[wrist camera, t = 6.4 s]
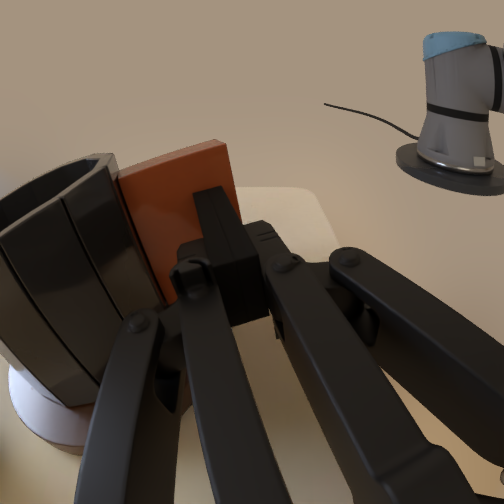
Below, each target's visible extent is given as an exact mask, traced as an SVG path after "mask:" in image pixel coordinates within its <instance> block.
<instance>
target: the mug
mask: <svg viewBox="0 0 504 504" xmlns="http://www.w3.org/2000/svg"><path fill="white" fill-rule="evenodd" d="M220 185H221V186H222V187H223V189H224V191H225V193H226V195H227V197H228V198H229V200H230V202H231V204H232V206H233V208H234V209H235V211H236V213H237V215H238V217H239V219H240V220H241V222H242V219H241V215H240V210H239V205H238V200H237V195H236V190H235V185H234V181H233V176H232V171H231V166H230V161H229V156H228V151H227V146H226V143H223V142H221V141H218V140H216V139H213V140H210V141H206V142H203V143H199V144H196V145H193V146H189V147H186V148H183V149H180V150H176V151H173V152H170V153H167V154H164V155H161V156H159V157H155V158H152V159H150V160H147V161H144V162H141V163H138V164H135V165H133V166H130V167H127V168H125V169H122V170H119V168H118V165H117V162H116V159H115V155H114V154H113V153H98V154H92V155H89V156H85V157H82V158H79V159H76V160H73V161H70V162H67V163H65V164H63V165H60V166H58V167H56V168H54V169H52V170H49V171H47V172H46V173H44V174H41V175H39V176H37V177H35V178H33V179H32V180H31V181H28V182H26V183H25V184H23V185H21V186H20V187H18V188H17V189H15V190H13V191H11V192H10V193H8V194H7V195H5V196H4V197H2V198H1V199H0V354H1V355H2V356H3V357H4V358H5V359H6V360H7V361H8V362H9V364H10V365H11V366H12V367H13V368H14V369H15V370H16V371H17V372H18V373H19V374H20V375H21V376H22V377H23V378H24V379H25V380H26V381H27V382H28V383H29V384H30V385H31V386H32V387H33V388H34V389H35V390H36V391H37V392H38V393H40V394H42V395H44V396H45V397H47V398H49V399H51V400H53V401H55V402H57V403H59V404H61V405H64V406H66V407H67V406H68V407H73V406H78V405H83V404H88V403H93V402H96V399H97V396H98V392H99V389H100V385H101V382H102V379H103V376H104V372H105V369H106V366H107V363H108V360H109V357H110V354H111V351H112V348H113V345H114V342H115V339H116V336H117V333H118V330H119V328H120V325H121V323H122V321H123V320H124V318H125V317H126V316H127V315H128V314H130V313H131V312H133V311H135V310H138V309H142V308H150V309H152V310H154V311H156V313H159V312H161V311H163V310H165V309H166V308H168V307H169V305H170V304H173V303H174V302H175V301H176V300H177V295H176V292H175V290H174V288H173V285H172V283H171V280H170V278H169V273H170V270H171V269H172V268H173V267H174V265H176V264H177V253H176V252H177V250H178V248H179V246H180V244H182V243H186V242H189V241H193V240H196V239H199V238H203V235H202V231H201V227H200V223H199V219H198V215H197V211H196V207H195V203H194V199H193V195H192V193H195V192H198V191H202V190H206V189H209V188H213V187H217V186H220Z"/></svg>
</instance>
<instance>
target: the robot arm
mask: <svg viewBox="0 0 504 504" xmlns="http://www.w3.org/2000/svg"><path fill="white" fill-rule="evenodd" d="M486 43H487V42H486V40H485V38H484V36H482V35H480V34H474V33H469V32H439V33H432V34H429V35H427V36H426V37H425V38H424V40H423V53H424V58H423V61H425V74H426V97H427V115H426V119H425V122H424V125H423V128H422V131H421V134H420V137H416V136H413V135H411V134H409V133H408V132H406V131H404V130H403V129H401V128H399V127H397V126H396V125H394V124H392V123H390V122H388V121H386V120H384V119H381V118H379V117H376V116H373V115H370V114H367V113H364V112H360V111H356V110H351V109H347V108H343V107H338V106H333V105H329V104H326V103H324V105H326V106H330V107H334V108H338V109H343V110H347V111H352V112H355V113H359V114H363V115H366V116H369V117H372V118H375V119H377V120H380V121H382V122H384V123H387V124H389V125H390V126H392V127H394V128H395V129H397V130H399V131H401V132H402V133H404V134H405V135H407V136H409V137H411V138H413V139H415V140H418V143H417V156H418V158H419V159H421V160H422V161H423V162H425V163H427V164H429V165H431V166H433V167H436V168H439V169H442V170H445V171H448V172H452V173H457V174H462V175H468V176H487V175H490V174H492V173H493V171H494V153H493V148H492V142H491V137H490V133H489V128H488V118H489V110H492V111H496V112H500V113H504V46H503V48H499V47H495V46H490V45H487V44H486ZM192 195H193V199H194V203H195V207H196V211H197V215H198V219H199V223H200V227H201V231H202V235H203V238H199V239H196V240H193V241H189V242H186V243H182V244H180V246H179V248H178V250H177V252H176V253H177V264H176V265H174V267H173V268H172V269H171V270H170V273H169V278H170V280H171V283H172V285H173V288H174V290H175V292H176V295H177V300H176V301H175V302H174V303H173V304H172V305H171V306H170V307H168V308H166V309H165V310H163V311H161V312H159V313H156V311H154V310H152V309H150V308H142V309H138V310H135V311H133V312H131V313H130V314H128V315H127V316H126V317H125V318H124V320H123V321H122V323H121V325H120V328H119V330H118V333H117V336H116V339H115V342H114V345H113V348H112V351H111V354H110V357H109V360H108V363H107V366H106V369H105V372H104V376H103V379H102V382H101V385H100V389H99V392H98V396H97V399H96V403H95V406H94V410H93V414H92V418H91V421H90V425H89V429H88V433H87V438H86V442H85V446H84V451H83V455H82V460H81V465H80V470H79V475H78V480H77V486H76V492H75V498H74V504H174V491H175V477H176V464H177V452H178V442H179V431H180V422H181V412H182V403H183V395H184V386H185V378H186V367H187V372H188V378H189V384H190V390H191V396H192V401H193V407H194V412H195V417H196V422H197V427H198V432H199V437H200V442H201V446H202V451H203V455H204V459H205V464H206V468H207V472H208V476H209V480H210V484H211V488H212V492H213V495H214V499H215V503H216V504H293V502H292V500H291V497H290V495H289V492H288V490H287V487H286V484H285V482H284V479H283V477H282V474H281V471H280V469H279V466H278V463H277V461H276V458H275V455H274V453H273V450H272V447H271V444H270V442H269V439H268V436H267V433H266V431H265V428H264V425H263V422H262V419H261V416H260V413H259V411H258V408H257V405H256V402H255V399H254V396H253V393H252V390H251V387H250V384H249V381H248V378H247V375H246V372H245V369H244V366H243V363H242V360H241V357H240V354H239V351H238V347H237V344H236V341H235V338H234V335H233V332H232V329H231V327H234V326H237V325H241V324H244V323H247V322H250V321H254V320H257V319H260V318H263V317H266V316H269V315H270V314H269V310H270V312H271V314H272V317H273V323H274V329H275V335H276V339H279V338H280V340H281V342H282V344H283V347H284V349H285V351H286V353H287V355H288V358H289V360H290V362H291V364H292V366H293V368H294V371H295V373H296V375H297V377H298V379H299V381H300V384H301V386H302V388H303V390H304V392H305V394H306V397H307V399H308V401H309V403H310V405H311V407H312V409H313V412H314V414H315V416H316V418H317V420H318V422H319V425H320V427H321V429H322V431H323V433H324V435H325V437H326V439H327V442H328V444H329V446H330V448H331V450H332V452H333V454H334V456H335V459H336V461H337V463H338V465H339V467H340V469H341V471H342V473H343V475H344V478H345V480H346V482H347V484H348V486H349V488H350V490H351V493H352V496H353V502H354V504H504V499H502V498H496V497H491V496H486V495H481V494H476V493H474V491H473V490H472V488H471V486H470V484H469V483H468V481H467V479H466V478H465V476H464V474H463V472H462V471H461V469H460V468H459V466H458V464H457V463H456V461H455V459H454V458H453V457H452V456H451V454H450V453H449V451H447V450H446V449H445V448H443V447H442V446H439V445H435V444H432V443H430V442H429V441H428V440H427V439H426V437H425V436H424V435H423V433H422V431H421V430H420V428H419V427H418V425H417V423H416V422H415V420H414V419H413V417H412V416H411V414H410V412H409V411H408V410H407V408H406V406H405V405H404V403H403V402H402V400H401V398H400V397H399V395H398V394H397V392H396V391H395V389H394V388H393V386H392V385H391V383H390V382H389V380H388V379H387V377H386V376H385V374H384V373H383V371H382V370H381V368H382V369H383V370H384V371H385V372H387V373H388V374H389V375H390V376H391V377H392V378H393V379H394V380H396V381H397V382H398V383H399V384H400V385H401V386H402V387H403V388H404V389H406V390H407V391H408V392H409V393H410V394H411V395H412V396H413V397H414V398H416V399H417V400H418V401H419V402H420V403H421V404H422V405H423V406H425V407H426V408H427V409H428V410H429V411H430V412H431V413H432V414H433V415H434V416H436V417H437V418H438V419H439V420H440V421H441V422H442V423H443V424H444V425H446V426H447V427H448V428H449V429H450V430H451V431H452V432H453V433H454V434H456V435H457V436H458V437H459V438H460V439H461V440H462V441H463V442H464V443H465V444H467V445H468V446H469V447H470V448H471V449H472V450H473V451H475V452H476V453H477V454H478V455H480V456H481V457H483V458H484V459H486V460H487V461H489V462H491V463H493V464H494V465H497V466H500V467H503V468H504V346H503V345H502V344H500V343H499V342H497V341H496V340H495V339H494V338H492V337H491V336H489V335H488V334H487V333H486V332H484V331H483V330H482V329H480V328H479V327H477V326H476V325H475V324H473V323H472V322H471V321H469V320H468V319H466V318H465V317H464V316H462V315H461V314H459V313H458V312H456V311H455V310H453V309H452V308H451V307H449V306H448V305H446V304H445V303H443V302H442V301H440V300H439V299H438V298H436V297H435V296H433V295H432V294H430V293H429V292H427V291H426V290H424V289H423V288H421V287H420V286H418V285H417V284H415V283H414V282H412V281H411V280H409V279H408V278H406V277H404V276H403V275H401V274H400V273H398V272H397V271H395V270H393V269H392V268H390V267H389V266H387V265H386V264H384V263H382V262H381V261H379V260H378V259H376V258H374V257H373V256H371V255H370V254H368V253H366V252H365V251H363V250H361V249H358V248H353V247H343V248H339V249H337V250H335V251H334V252H332V253H331V255H330V257H329V262H319V263H309V262H305V260H304V259H303V258H302V257H300V256H299V255H297V254H294V253H291V252H290V251H289V249H288V248H287V247H286V245H285V244H284V242H283V241H282V240H281V238H280V237H279V236H278V234H277V233H276V232H275V230H274V228H273V227H272V226H271V224H269V223H267V222H265V221H263V220H260V221H257V222H253V223H249V224H246V225H243V224H242V222H241V220H240V219H239V217H238V215H237V213H236V211H235V209H234V208H233V206H232V204H231V202H230V200H229V198H228V197H227V195H226V193H225V191H224V189H223V187H222V186H221V185H220V186H217V187H213V188H209V189H206V190H202V191H198V192H195V193H192ZM379 366H380V367H381V368H380V367H379ZM500 480H501V482H502V484H503V485H504V469H503V471H502V472H501V476H500Z"/></svg>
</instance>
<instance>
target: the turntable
mask: <svg viewBox="0 0 504 504" xmlns="http://www.w3.org/2000/svg"><path fill="white" fill-rule="evenodd" d="M171 305H172V304H170V305H169V307H170V306H171ZM8 381H9V392H10V397H11V400H12V403H13V406H14V408H15V410H16V412H17V414H18V416H19V418H20V419H21V420H22V422H23V423H24V424H25V425H26V426H27V427H28V428H29V429H30V430H31V431H32V432H33V433H34V434H36V435H37V436H39V437H40V438H41V439H43V440H44V441H46V442H47V443H49V444H51V445H52V446H54V447H56V448H58V449H60V450H62V451H65V452H68V453H71V454H74V455H81V456H82V455H83V451H84V446H85V442H86V438H87V433H88V429H89V425H90V421H91V418H92V414H93V410H94V406H95V403H96V402H93V403H88V404H83V405H78V406H73V407H68V406H67V407H66V406H64V405H61V404H59V403H57V402H55V401H53V400H51V399H49V398H47V397H45V396H44V395H42V394H40V393H38V392H37V391H36V390H35V389H34V388H33V387H32V386H31V385H30V384H29V383H28V382H27V381H26V380H25V379H24V378H23V377H22V376H21V375H20V374H19V373H18V372H17V371H16V370H15V369H14V368H13V367H12V366H11V365H10V366H9V375H8ZM192 403H193V401H192V396H191V390H190V384H189V378H188V372H187V367H186V378H185V386H184V395H183V403H182V412H181V416H182V415H183V414H184V412H185V411H186V410H187V409H188V408H189V406H190V405H191V404H192Z"/></svg>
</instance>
